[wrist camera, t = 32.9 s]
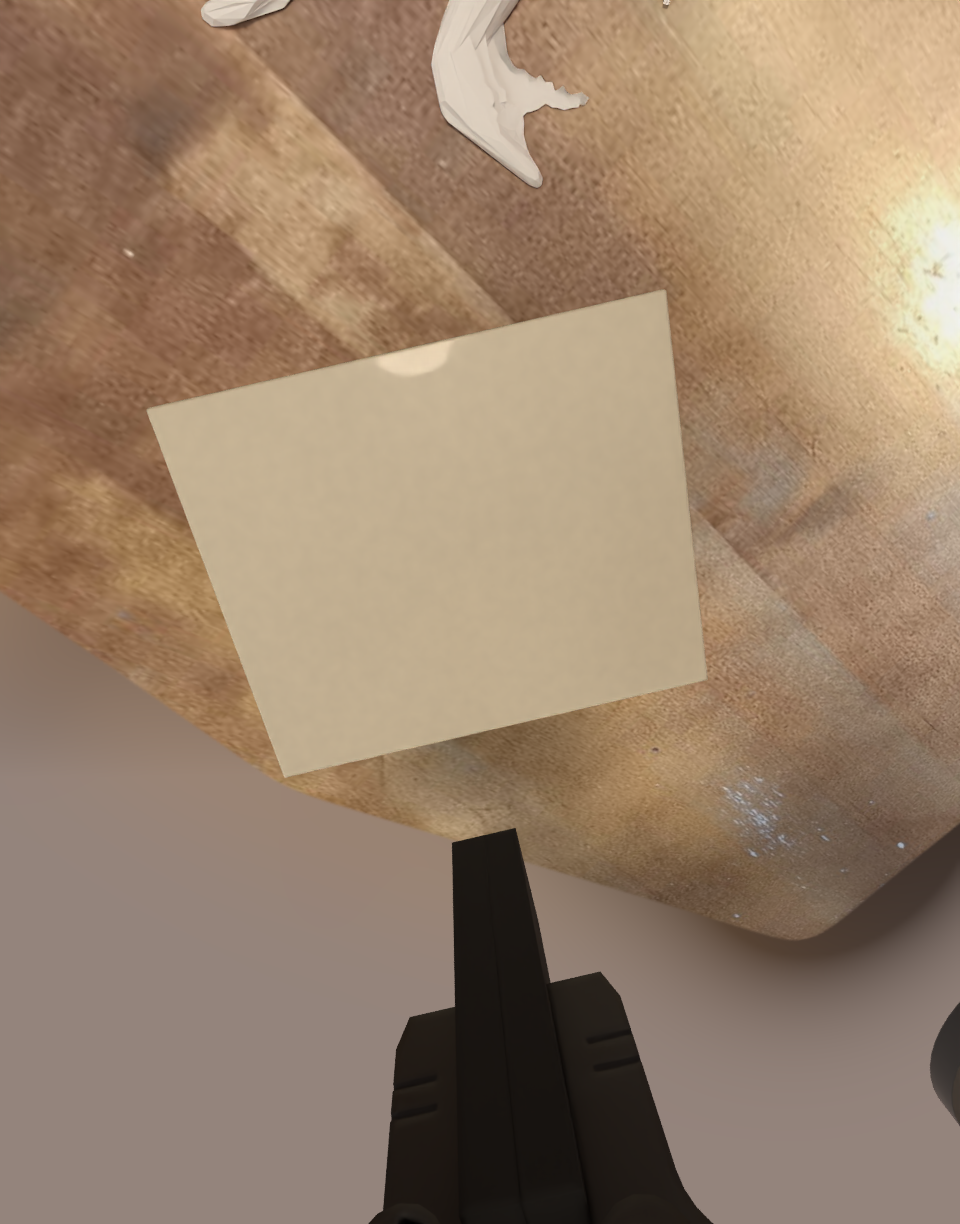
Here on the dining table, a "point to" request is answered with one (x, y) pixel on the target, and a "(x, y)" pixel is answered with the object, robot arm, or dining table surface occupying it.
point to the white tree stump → (463, 76)
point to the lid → (449, 532)
